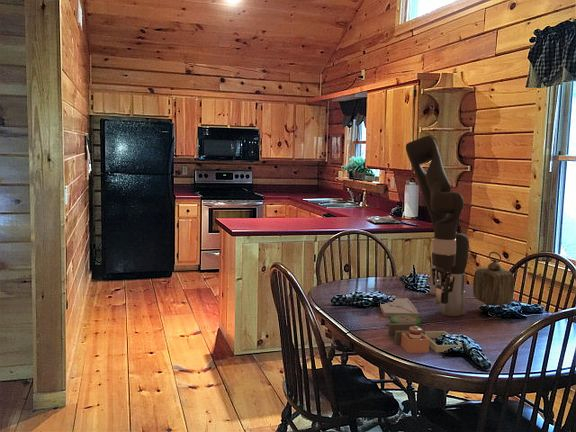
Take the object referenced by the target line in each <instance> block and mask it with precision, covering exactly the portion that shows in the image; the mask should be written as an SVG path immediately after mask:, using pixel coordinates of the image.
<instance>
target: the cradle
mask: <svg viewBox="0 0 576 432" xmlns="http://www.w3.org/2000/svg"><path fill="white" fill-rule="evenodd" d="M412 326H417V324H416V323H393V324H390V323H388V324H387V337H388V338H389V339H390V340H391V341H392V342H393V343H394V344H395V346H401V333H407V332H409V327H412ZM425 332H426V331H425V330H424V329H422V333H423V334H424V335H425Z"/></svg>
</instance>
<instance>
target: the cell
mask: <svg viewBox="0 0 576 432" xmlns="http://www.w3.org/2000/svg"><path fill="white" fill-rule="evenodd" d="M443 283H445V282H443ZM435 304H436V305H447V304H448V303H447V304H442V303H441V286H440V283H439V282H437V283H436V299H435Z"/></svg>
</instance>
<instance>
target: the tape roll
mask: <svg viewBox="0 0 576 432" xmlns="http://www.w3.org/2000/svg"><path fill="white" fill-rule="evenodd" d="M393 323H416V324H417V326H418V327H420V328H421V319H420V317H419V318H417V317H414V316H410V315H396V316H392V317H390V321H389V324H393Z"/></svg>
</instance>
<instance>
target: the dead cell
mask: <svg viewBox="0 0 576 432" xmlns="http://www.w3.org/2000/svg"><path fill="white" fill-rule="evenodd" d="M422 330H423V329H422V327H421V326H420V327H418V326H412V327H409V339H421V336H422Z"/></svg>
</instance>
